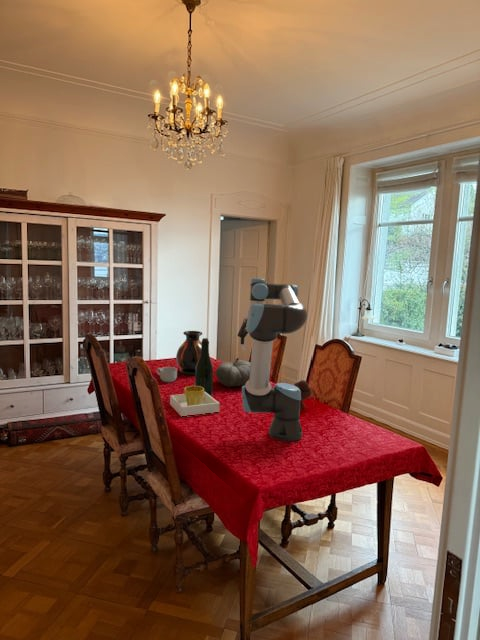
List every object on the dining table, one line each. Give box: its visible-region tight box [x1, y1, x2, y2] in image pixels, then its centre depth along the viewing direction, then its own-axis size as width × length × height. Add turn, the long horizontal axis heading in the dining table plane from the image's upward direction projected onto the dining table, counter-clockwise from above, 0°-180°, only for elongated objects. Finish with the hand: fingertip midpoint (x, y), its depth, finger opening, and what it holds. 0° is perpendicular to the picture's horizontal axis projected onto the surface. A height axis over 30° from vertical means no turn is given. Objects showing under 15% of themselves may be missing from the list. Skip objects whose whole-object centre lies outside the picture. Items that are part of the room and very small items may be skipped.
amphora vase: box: [175, 330, 203, 376], centre depth 300 cm, size 22×22×28 cm
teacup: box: [156, 366, 178, 383], centre depth 279 cm, size 14×11×8 cm
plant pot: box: [183, 385, 204, 406], centre depth 231 cm, size 10×10×10 cm
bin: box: [169, 392, 220, 417], centre depth 231 cm, size 20×20×5 cm
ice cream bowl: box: [293, 379, 313, 409], centre depth 241 cm, size 11×11×15 cm
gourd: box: [215, 357, 251, 388], centre depth 277 cm, size 25×25×17 cm
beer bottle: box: [194, 337, 214, 397], centre depth 253 cm, size 10×10×33 cm
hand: (255, 349), depth 227 cm, fingers open, 13 cm apart
